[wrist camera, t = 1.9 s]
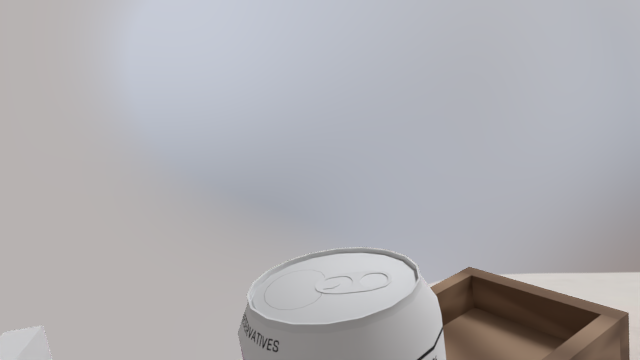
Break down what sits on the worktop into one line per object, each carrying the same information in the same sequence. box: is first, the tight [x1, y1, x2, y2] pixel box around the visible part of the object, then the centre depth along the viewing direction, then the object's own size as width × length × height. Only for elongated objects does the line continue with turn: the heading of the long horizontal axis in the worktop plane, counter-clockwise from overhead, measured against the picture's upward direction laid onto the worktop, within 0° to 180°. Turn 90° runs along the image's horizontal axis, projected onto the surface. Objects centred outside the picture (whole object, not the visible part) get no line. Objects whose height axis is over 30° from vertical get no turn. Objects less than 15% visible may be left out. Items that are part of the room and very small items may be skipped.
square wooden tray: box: [430, 267, 629, 360], centre depth 40 cm, size 13×13×4 cm
